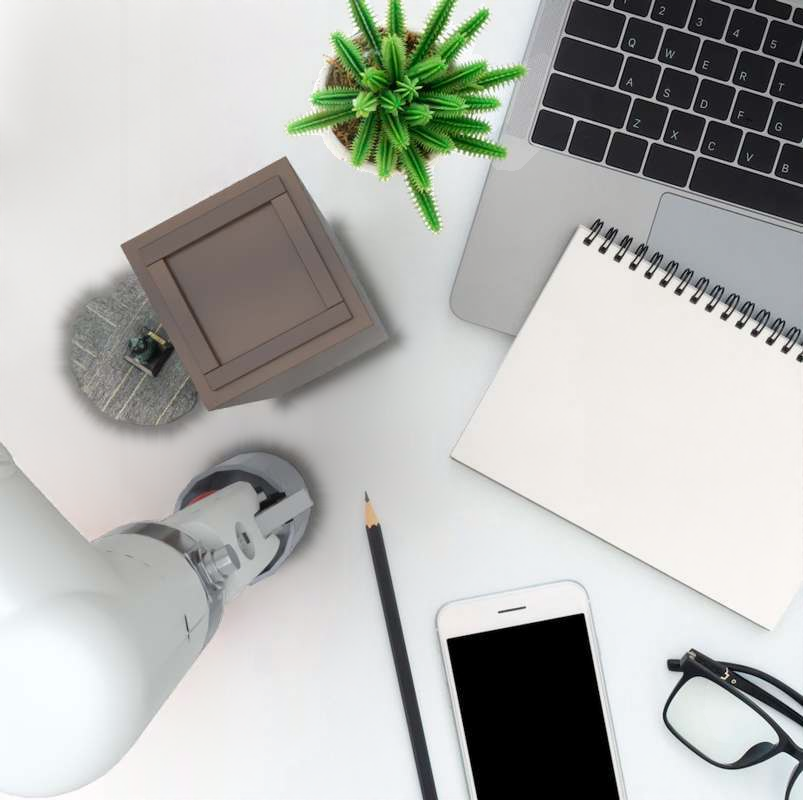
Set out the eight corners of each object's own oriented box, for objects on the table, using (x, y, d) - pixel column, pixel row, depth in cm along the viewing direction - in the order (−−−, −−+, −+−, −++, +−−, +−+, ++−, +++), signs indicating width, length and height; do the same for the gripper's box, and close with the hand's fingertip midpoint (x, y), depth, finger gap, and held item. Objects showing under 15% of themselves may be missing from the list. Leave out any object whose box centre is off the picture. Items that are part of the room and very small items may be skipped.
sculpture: (221, 280, 69) (204, 342, 63) (229, 365, 75) (215, 428, 69) (72, 273, 68) (42, 335, 62) (93, 359, 74) (68, 422, 69)
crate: (224, 287, 68) (116, 243, 44) (332, 230, 68) (284, 153, 44) (281, 396, 69) (205, 412, 44) (389, 339, 68) (373, 323, 44)
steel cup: (185, 482, 69) (150, 499, 60) (279, 433, 69) (258, 443, 60) (235, 576, 69) (208, 607, 60) (329, 528, 69) (316, 552, 60)
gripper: (262, 451, 40) (309, 424, 58) (-52, 616, 40) (91, 538, 58) (336, 589, 40) (360, 519, 58) (22, 751, 41) (142, 632, 59)
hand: (224, 529), depth 58 cm, fingers closed on apple, 6 cm apart
